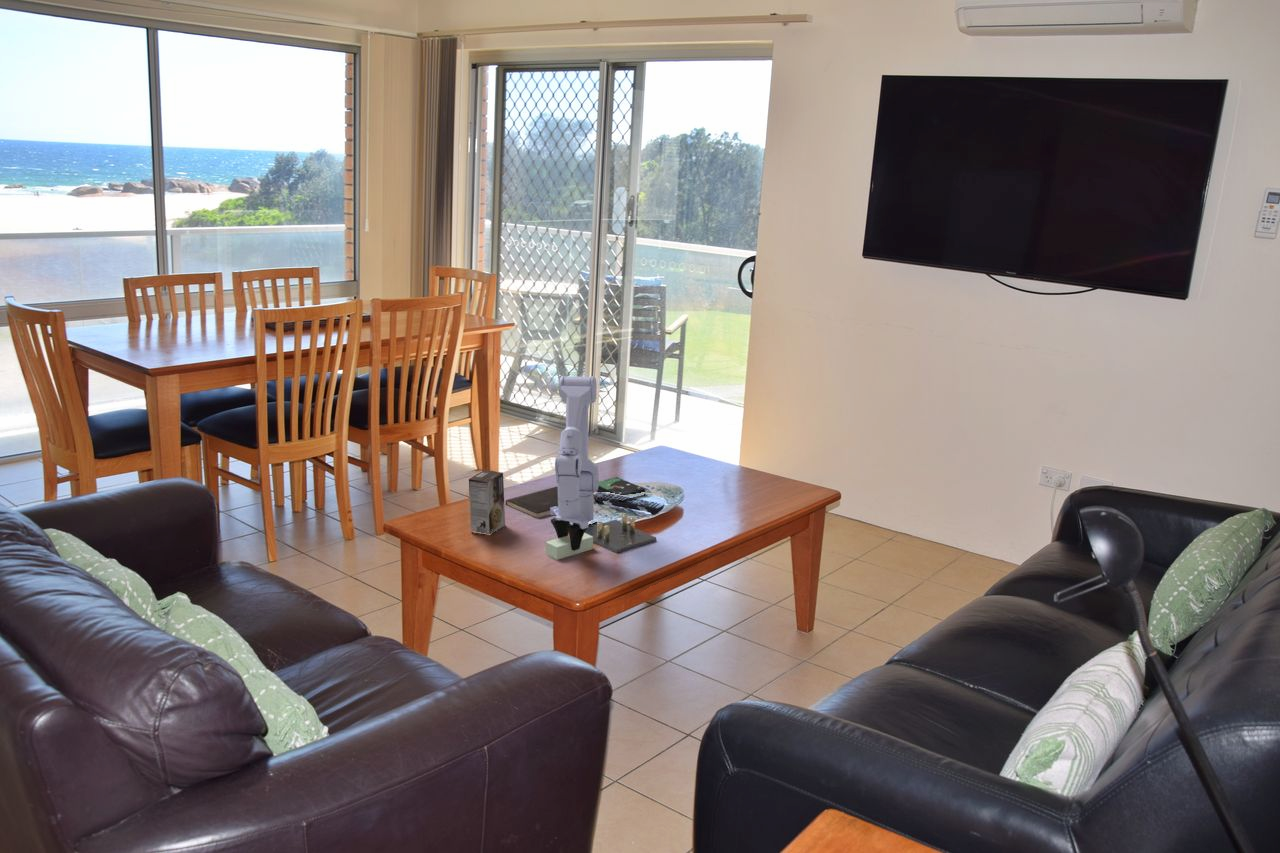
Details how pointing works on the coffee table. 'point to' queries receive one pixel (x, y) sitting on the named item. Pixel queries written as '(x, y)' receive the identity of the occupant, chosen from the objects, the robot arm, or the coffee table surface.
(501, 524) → the coffee box
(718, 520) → the coffee table surface
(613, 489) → the disk drive
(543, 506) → the hardcover book
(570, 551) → the pale green block
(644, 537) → the plate
